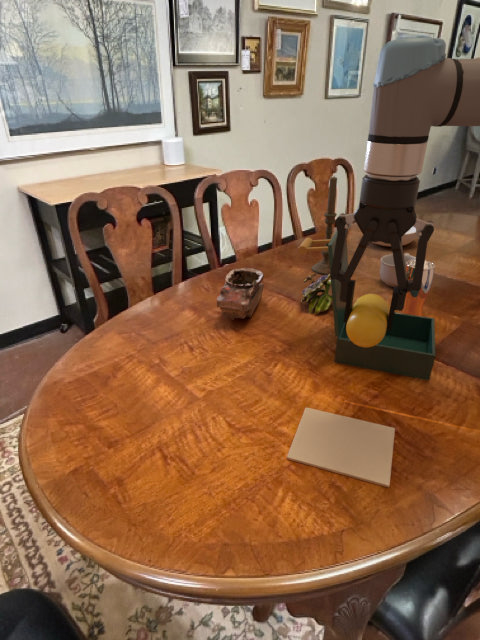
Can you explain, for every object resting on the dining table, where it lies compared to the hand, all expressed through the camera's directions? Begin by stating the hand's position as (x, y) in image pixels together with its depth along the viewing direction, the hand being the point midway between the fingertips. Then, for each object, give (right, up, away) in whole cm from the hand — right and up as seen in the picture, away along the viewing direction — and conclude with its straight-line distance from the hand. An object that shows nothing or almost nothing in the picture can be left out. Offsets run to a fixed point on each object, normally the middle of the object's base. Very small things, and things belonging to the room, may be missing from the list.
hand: (367, 322), depth 68 cm
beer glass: (+23, +1, +41) cm, 47 cm away
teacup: (+28, +12, +60) cm, 68 cm away
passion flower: (+1, +4, +47) cm, 47 cm away
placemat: (-3, -21, +3) cm, 21 cm away
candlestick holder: (+8, +17, +70) cm, 73 cm away
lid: (+1, +9, +22) cm, 24 cm away
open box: (+12, -7, +27) cm, 30 cm away
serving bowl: (+36, +30, +92) cm, 103 cm away
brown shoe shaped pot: (-19, +2, +45) cm, 49 cm away
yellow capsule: (0, -2, +1) cm, 2 cm away
